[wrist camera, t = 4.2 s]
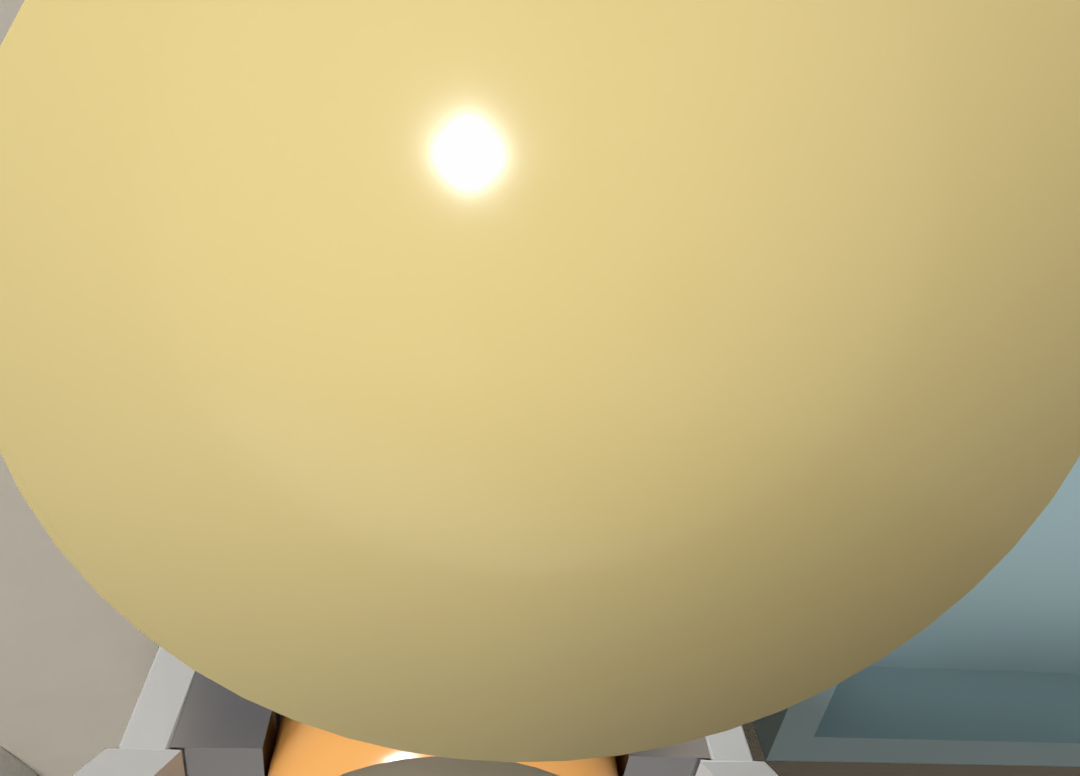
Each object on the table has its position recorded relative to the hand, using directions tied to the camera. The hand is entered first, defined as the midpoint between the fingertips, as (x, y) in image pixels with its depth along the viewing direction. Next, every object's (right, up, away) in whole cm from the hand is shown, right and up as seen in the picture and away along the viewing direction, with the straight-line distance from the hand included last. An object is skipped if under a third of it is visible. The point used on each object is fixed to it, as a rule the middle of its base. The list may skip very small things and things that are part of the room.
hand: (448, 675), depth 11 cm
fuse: (+1, +9, 0) cm, 9 cm away
